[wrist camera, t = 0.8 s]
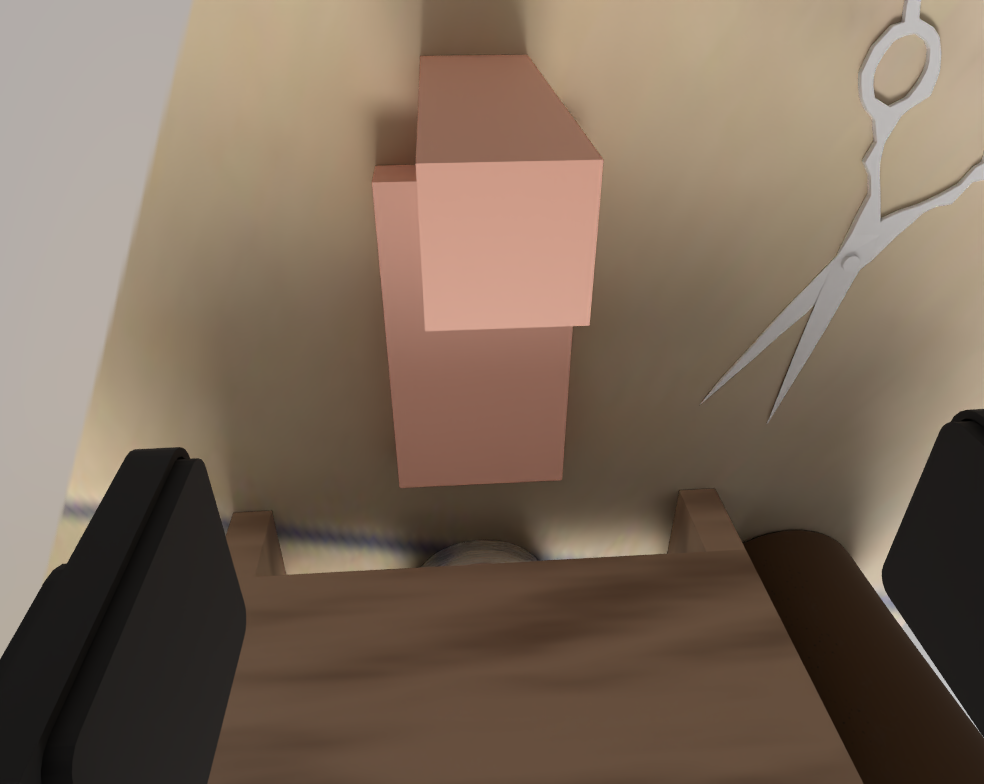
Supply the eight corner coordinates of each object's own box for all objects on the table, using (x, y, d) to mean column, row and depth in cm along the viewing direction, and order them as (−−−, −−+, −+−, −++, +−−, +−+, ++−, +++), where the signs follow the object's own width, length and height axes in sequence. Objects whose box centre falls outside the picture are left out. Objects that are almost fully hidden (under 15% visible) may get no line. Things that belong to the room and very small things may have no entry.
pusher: (365, 56, 27) (319, 165, 15) (580, 54, 27) (695, 158, 16) (400, 459, 37) (389, 708, 26) (555, 452, 38) (613, 693, 26)
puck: (408, 541, 41) (407, 582, 38) (549, 534, 41) (557, 574, 39) (416, 633, 45) (415, 676, 43) (543, 626, 46) (550, 668, 43)
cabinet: (233, 512, 38) (124, 850, 24) (714, 488, 40) (867, 792, 26) (260, 613, 43) (179, 949, 29) (692, 588, 44) (813, 893, 30)
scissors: (1118, 73, 29) (816, 449, 38) (1103, 70, 30) (810, 441, 39) (919, -49, 26) (645, 391, 35) (907, -49, 27) (641, 382, 36)
